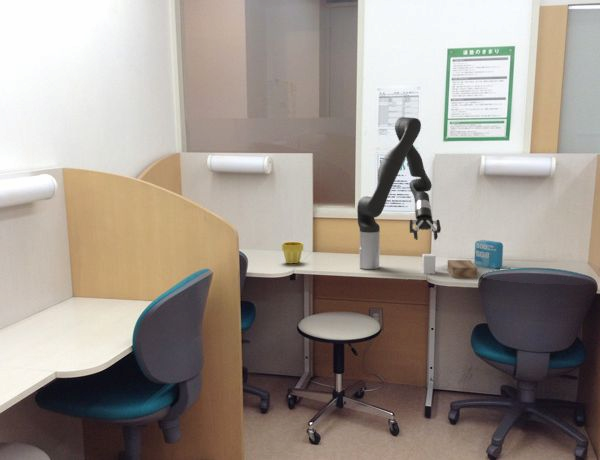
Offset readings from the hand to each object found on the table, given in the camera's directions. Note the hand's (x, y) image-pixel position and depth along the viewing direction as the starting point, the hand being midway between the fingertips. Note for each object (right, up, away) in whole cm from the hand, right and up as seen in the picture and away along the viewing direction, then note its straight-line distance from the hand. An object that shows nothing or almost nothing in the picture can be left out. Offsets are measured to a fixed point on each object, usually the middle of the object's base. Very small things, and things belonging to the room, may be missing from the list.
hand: (426, 239), depth 272 cm
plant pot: (-62, -12, +17) cm, 65 cm away
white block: (-1, -15, -8) cm, 17 cm away
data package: (+29, -13, +2) cm, 32 cm away
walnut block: (+13, -16, -12) cm, 24 cm away
